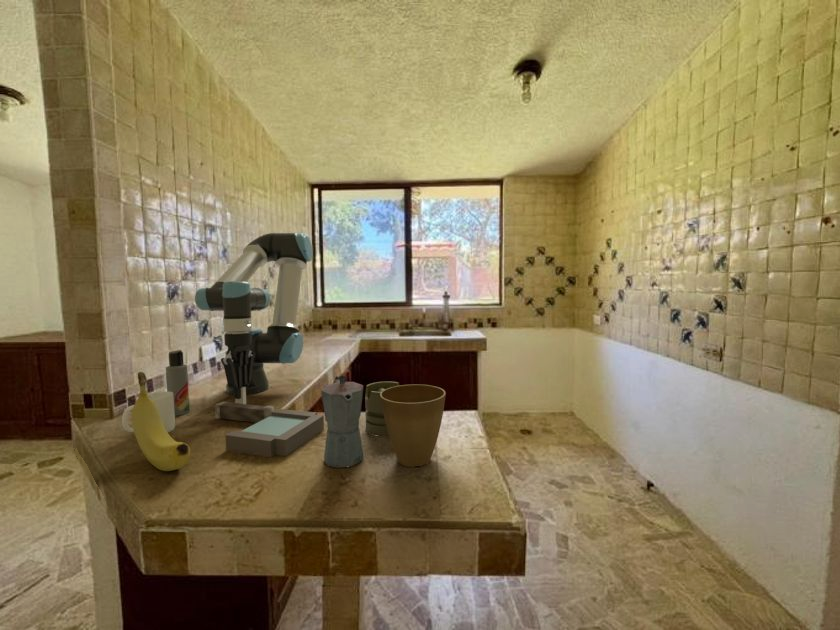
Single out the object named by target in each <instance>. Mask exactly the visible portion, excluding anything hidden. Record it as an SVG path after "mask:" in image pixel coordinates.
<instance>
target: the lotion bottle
mask: <svg viewBox="0 0 840 630" xmlns="http://www.w3.org/2000/svg"><path fill="white" fill-rule="evenodd" d="M184 363H185V362H184V352H183V351H182V350H181V349H177V350H173V351H170V352H168V364H169V365H168V366H166V367H165V376H166V379H165V380H166V392H173V397H174V414H175V417H176V416H182V415H185V414H188V413H189V412H190V393H189V391H190V389H189V370H188V365H187V364H184Z"/></svg>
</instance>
